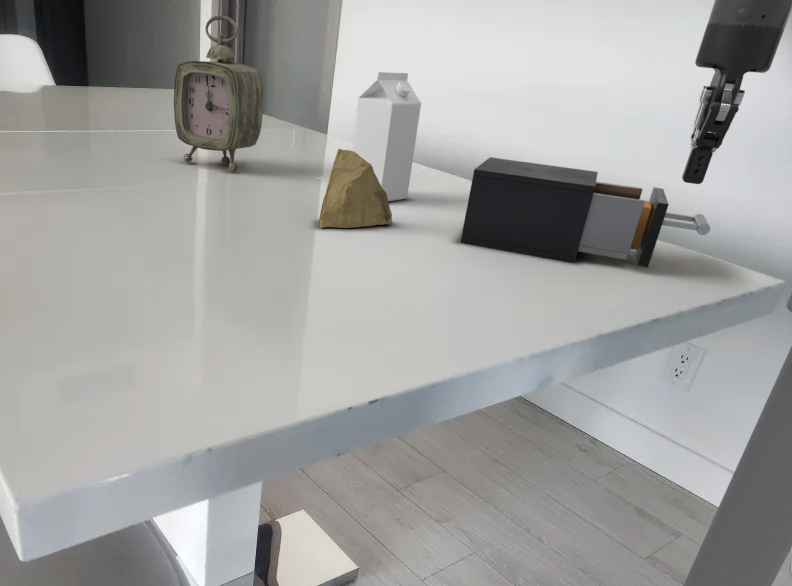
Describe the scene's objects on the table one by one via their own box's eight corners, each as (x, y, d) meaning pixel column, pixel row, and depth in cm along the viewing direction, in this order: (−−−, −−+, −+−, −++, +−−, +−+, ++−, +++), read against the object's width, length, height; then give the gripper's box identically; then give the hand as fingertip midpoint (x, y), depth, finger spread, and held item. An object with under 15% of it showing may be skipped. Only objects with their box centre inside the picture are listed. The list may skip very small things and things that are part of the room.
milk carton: (347, 194, 112) (361, 70, 104) (375, 190, 117) (390, 71, 108) (379, 203, 108) (396, 74, 99) (407, 199, 112) (426, 75, 104)
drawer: (689, 253, 91) (709, 195, 87) (697, 276, 81) (721, 211, 78) (543, 229, 97) (556, 173, 93) (535, 247, 87) (550, 186, 84)
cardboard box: (637, 242, 90) (649, 201, 87) (638, 250, 86) (651, 207, 83) (585, 233, 92) (596, 193, 89) (584, 241, 88) (595, 199, 85)
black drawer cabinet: (579, 240, 96) (597, 171, 92) (574, 263, 86) (595, 186, 81) (476, 223, 101) (489, 157, 96) (460, 242, 90) (474, 169, 86)
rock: (398, 202, 99) (333, 185, 100) (409, 161, 91) (338, 142, 92) (380, 261, 94) (312, 242, 95) (391, 222, 86) (316, 202, 87)
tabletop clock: (173, 162, 126) (173, 11, 115) (205, 157, 133) (207, 15, 122) (234, 175, 120) (240, 16, 108) (264, 169, 126) (272, 20, 115)
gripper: (798, 23, 68) (733, 196, 76) (773, 28, 79) (718, 179, 87) (715, 17, 70) (660, 185, 78) (702, 23, 81) (655, 170, 89)
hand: (691, 182), depth 82 cm, fingers closed
